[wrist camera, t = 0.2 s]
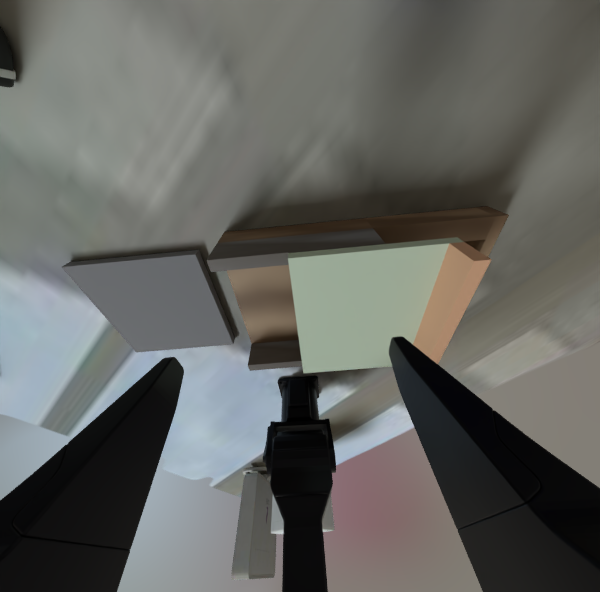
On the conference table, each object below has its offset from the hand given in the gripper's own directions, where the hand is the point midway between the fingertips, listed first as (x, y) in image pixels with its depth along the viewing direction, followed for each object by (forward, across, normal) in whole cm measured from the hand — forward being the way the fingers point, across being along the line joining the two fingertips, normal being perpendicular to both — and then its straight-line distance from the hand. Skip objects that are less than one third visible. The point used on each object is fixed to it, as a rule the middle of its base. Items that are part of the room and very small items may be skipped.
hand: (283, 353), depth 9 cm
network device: (+15, +18, +79) cm, 82 cm away
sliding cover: (+9, -6, +7) cm, 12 cm away
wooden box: (+14, -6, +7) cm, 17 cm away
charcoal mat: (+14, +15, +7) cm, 22 cm away
